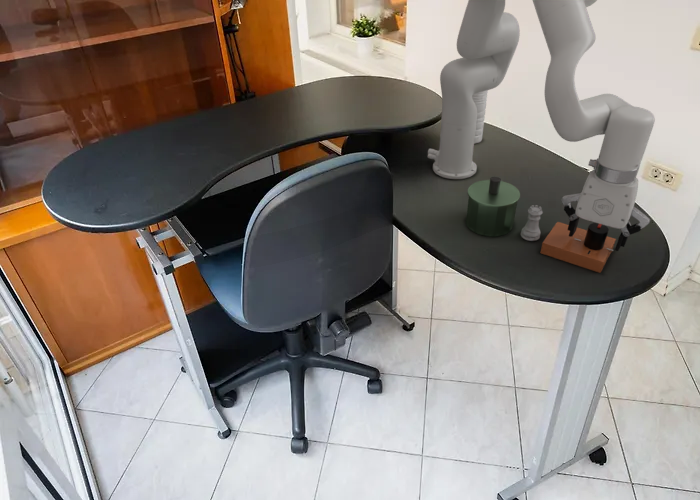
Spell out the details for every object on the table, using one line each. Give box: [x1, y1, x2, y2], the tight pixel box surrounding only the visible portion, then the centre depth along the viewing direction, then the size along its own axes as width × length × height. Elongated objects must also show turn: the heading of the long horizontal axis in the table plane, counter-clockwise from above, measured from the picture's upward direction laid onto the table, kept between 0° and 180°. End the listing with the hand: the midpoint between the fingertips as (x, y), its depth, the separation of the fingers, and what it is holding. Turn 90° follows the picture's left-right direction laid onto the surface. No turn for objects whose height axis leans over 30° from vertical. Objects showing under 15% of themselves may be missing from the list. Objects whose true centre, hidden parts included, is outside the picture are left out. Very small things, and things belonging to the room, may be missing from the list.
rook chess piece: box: [520, 204, 544, 242], centre depth 117 cm, size 4×4×8 cm
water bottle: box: [472, 90, 489, 145], centre depth 156 cm, size 9×6×25 cm
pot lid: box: [467, 176, 521, 207], centre depth 118 cm, size 12×12×5 cm
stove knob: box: [584, 222, 609, 250], centre depth 109 cm, size 4×4×5 cm
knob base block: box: [540, 221, 617, 274], centre depth 113 cm, size 14×10×3 cm
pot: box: [465, 196, 519, 238], centre depth 122 cm, size 11×11×8 cm
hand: (594, 240), depth 110 cm, fingers open, 9 cm apart
